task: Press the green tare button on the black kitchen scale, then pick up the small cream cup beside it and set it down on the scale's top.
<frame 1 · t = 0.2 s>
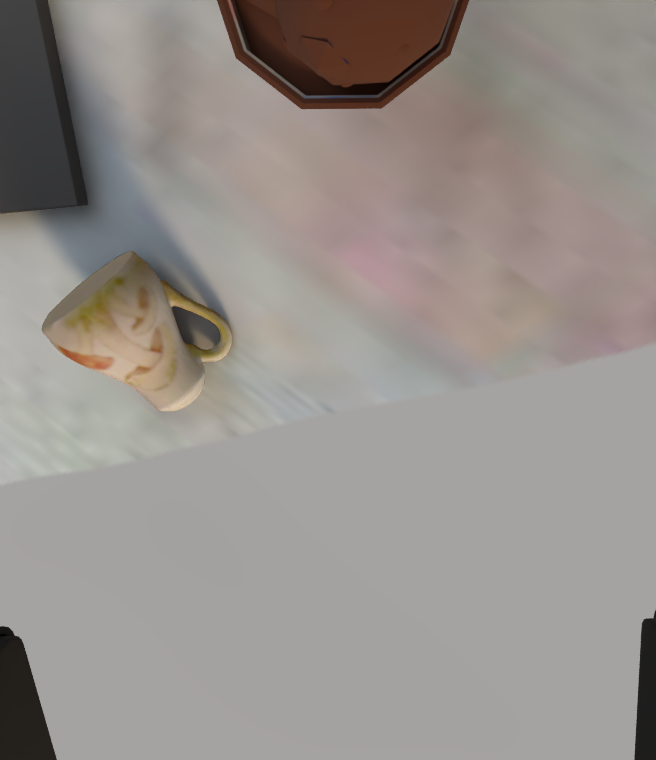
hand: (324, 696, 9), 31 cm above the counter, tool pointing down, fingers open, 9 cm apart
ice cream bowl: (352, 25, 34), on the counter
mug: (159, 327, 40), on the counter
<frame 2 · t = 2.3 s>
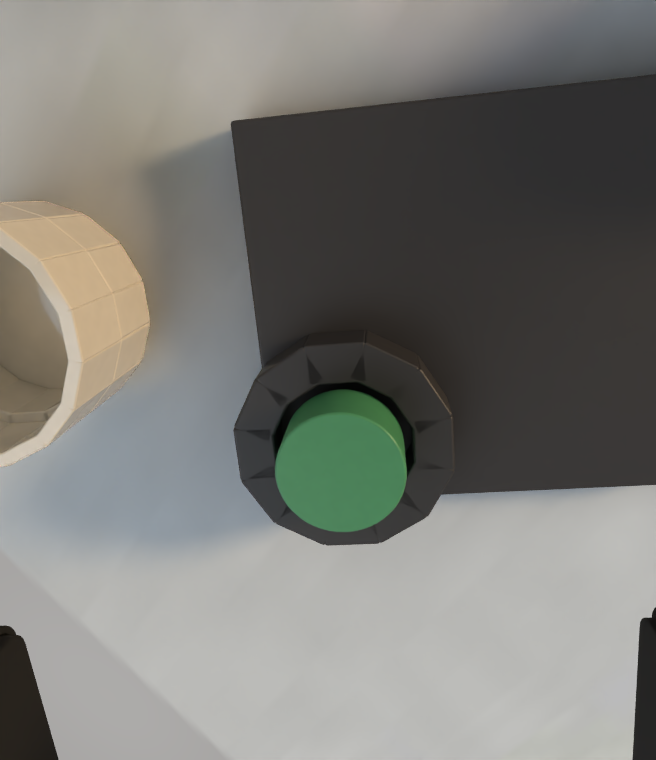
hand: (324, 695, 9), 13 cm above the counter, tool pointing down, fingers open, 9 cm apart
tare button: (342, 459, 18), point 4 cm above the counter, slide at 0.1 cm
scale: (479, 303, 20), on the counter
cream cup: (57, 306, 21), on the counter
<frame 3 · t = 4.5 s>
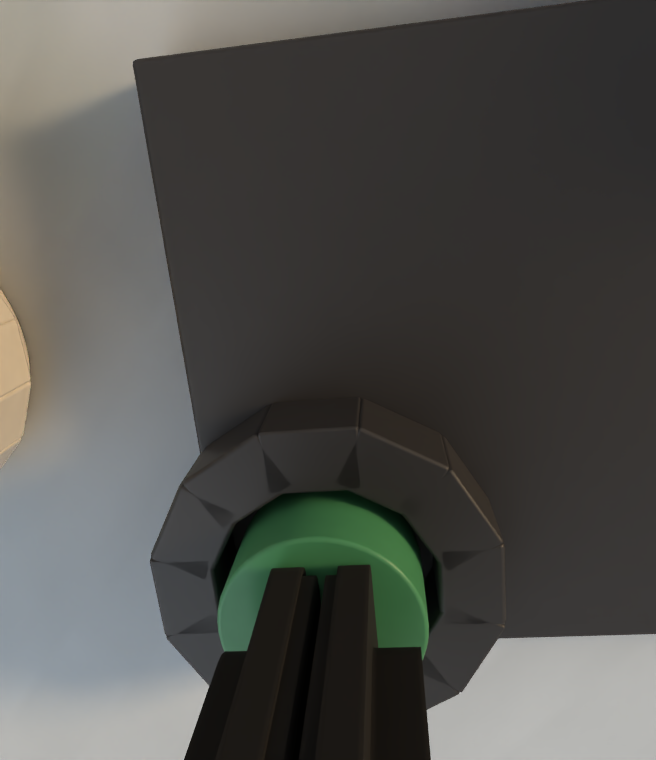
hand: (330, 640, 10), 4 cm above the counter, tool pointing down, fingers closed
tare button: (326, 594, 11), point 3 cm above the counter, slide at -0.5 cm, touching gripper
scale: (537, 350, 13), on the counter
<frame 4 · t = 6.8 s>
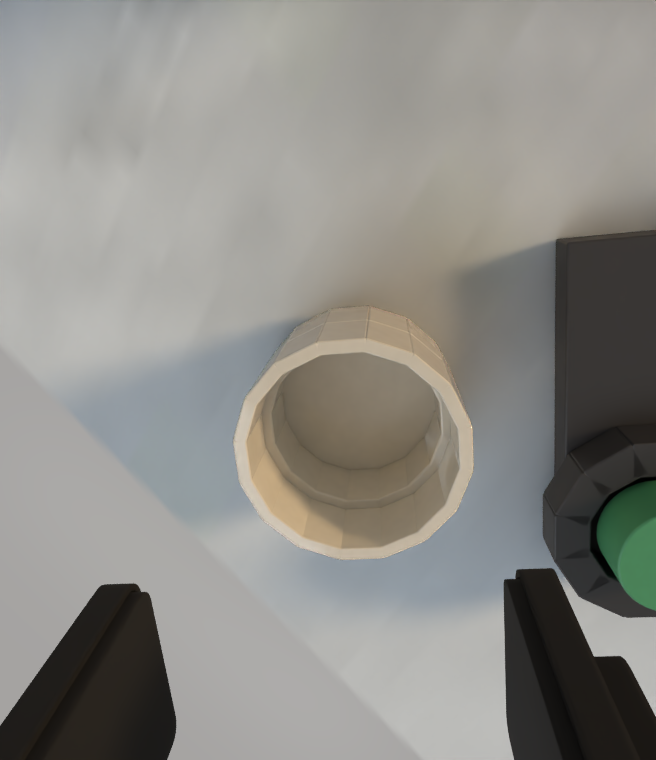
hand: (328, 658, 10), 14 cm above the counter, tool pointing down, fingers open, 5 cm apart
cream cup: (358, 394, 23), on the counter
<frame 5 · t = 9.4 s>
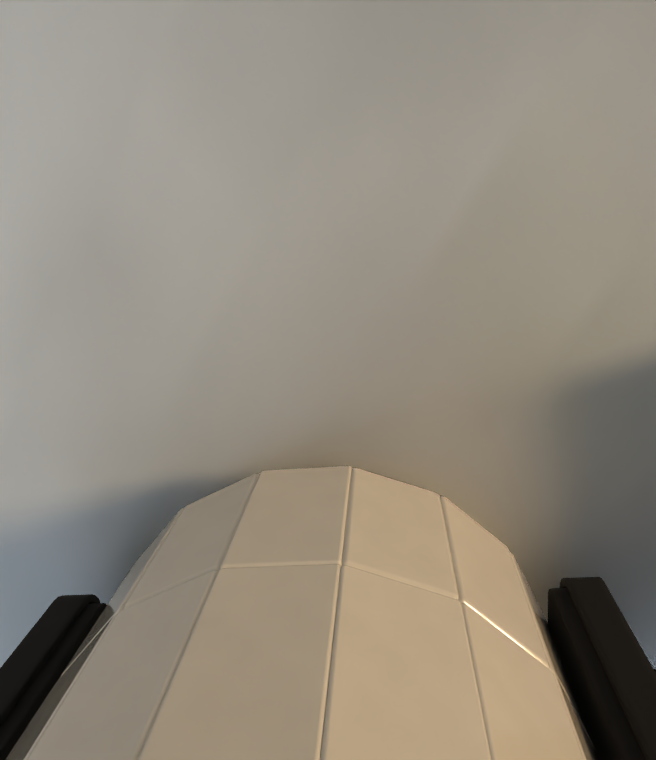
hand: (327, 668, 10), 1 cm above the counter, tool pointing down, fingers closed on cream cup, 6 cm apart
cream cup: (331, 633, 11), on the counter, touching gripper
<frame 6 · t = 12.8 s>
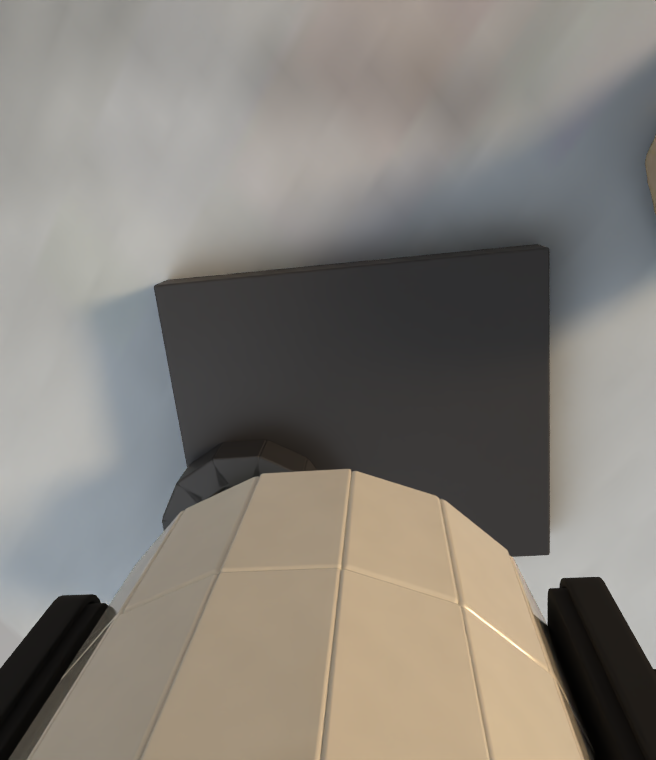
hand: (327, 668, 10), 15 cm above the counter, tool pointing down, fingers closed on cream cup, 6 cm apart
scale: (360, 413, 25), on the counter
cream cup: (331, 636, 11), point 15 cm above the counter, touching gripper
when the fingers open (2 cm above the counter, at t = 16.6 s): cream cup stays where it is, resting on scale.
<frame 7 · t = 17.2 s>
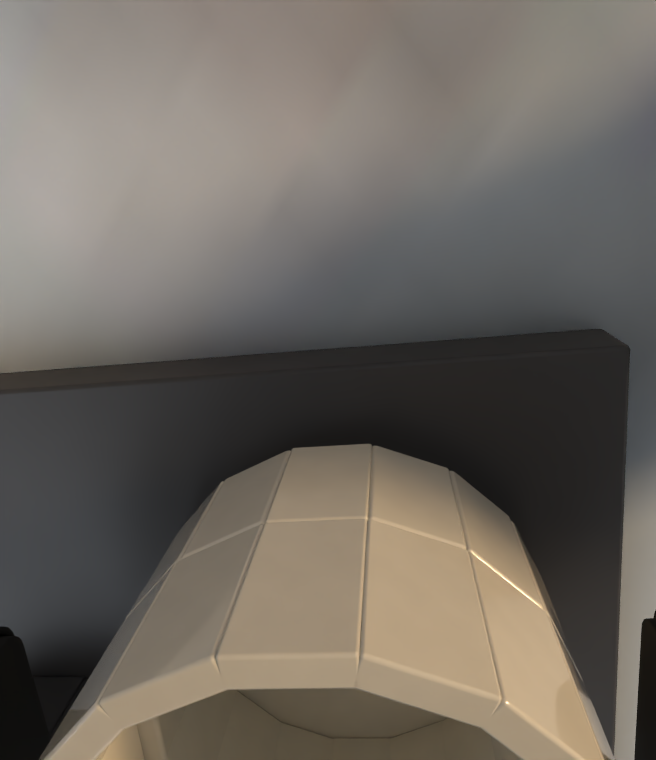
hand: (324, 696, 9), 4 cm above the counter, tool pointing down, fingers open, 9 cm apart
scale: (267, 616, 14), on the counter
cream cup: (351, 597, 12), point 1 cm above the counter, touching scale
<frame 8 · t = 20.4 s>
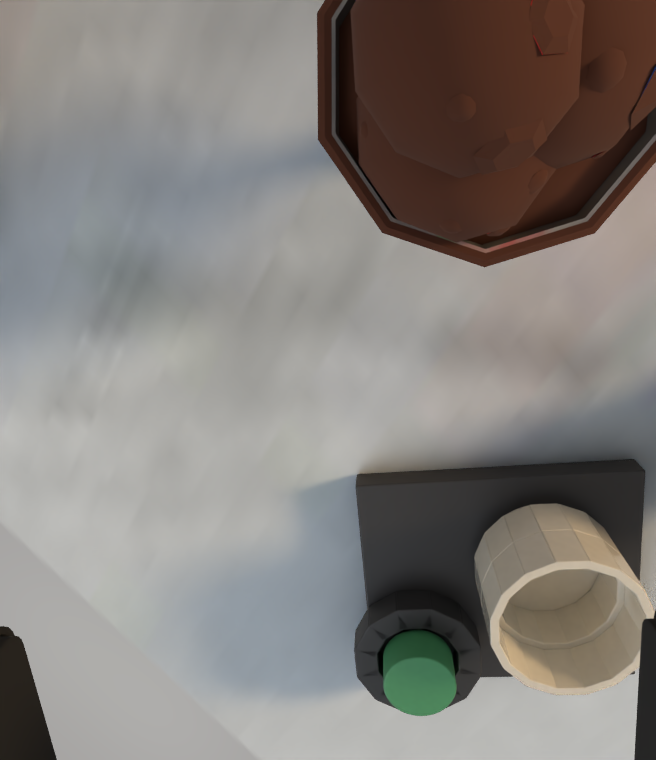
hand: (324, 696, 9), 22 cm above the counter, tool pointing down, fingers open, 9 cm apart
tare button: (418, 672, 32), point 4 cm above the counter, slide at 0.1 cm
ice cream bowl: (459, 113, 27), on the counter
scale: (494, 567, 34), on the counter
cream cup: (540, 557, 32), point 1 cm above the counter, touching scale
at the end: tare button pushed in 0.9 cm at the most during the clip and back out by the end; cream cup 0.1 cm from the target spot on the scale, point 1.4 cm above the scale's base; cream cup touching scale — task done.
